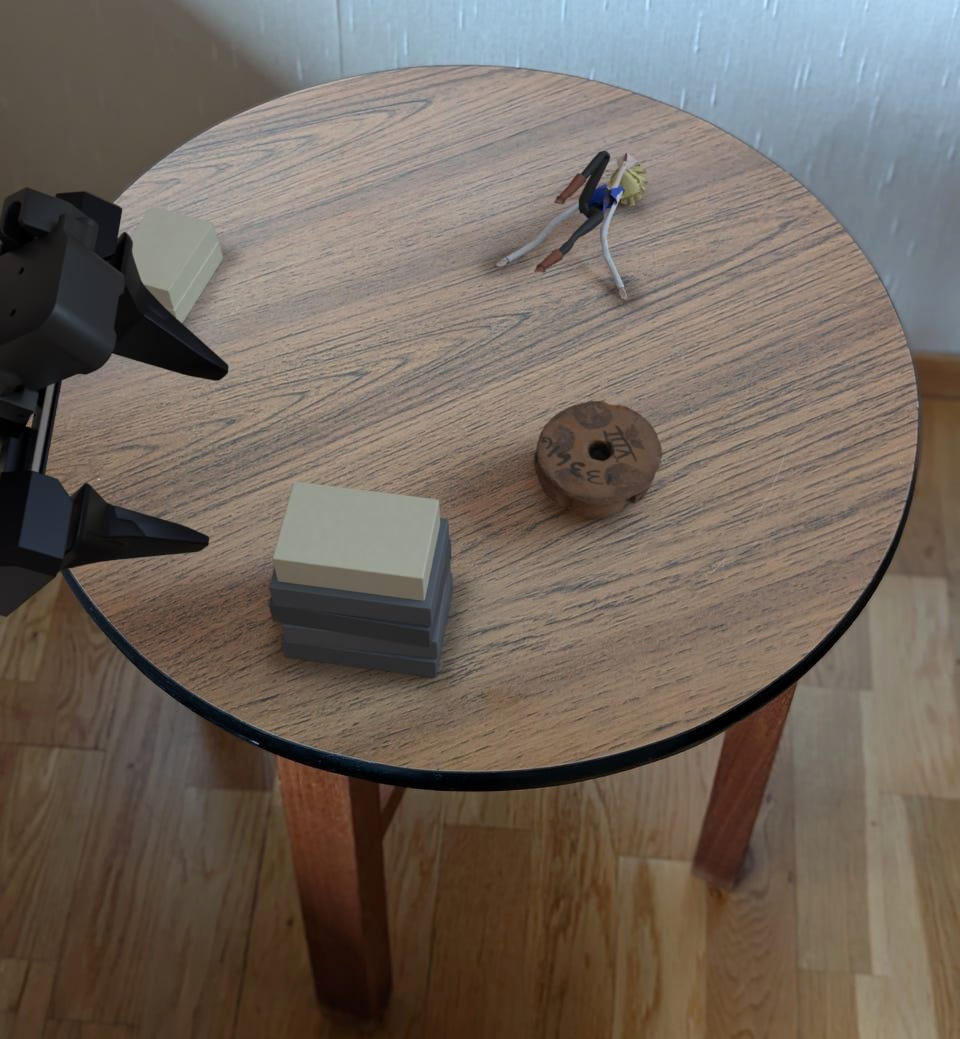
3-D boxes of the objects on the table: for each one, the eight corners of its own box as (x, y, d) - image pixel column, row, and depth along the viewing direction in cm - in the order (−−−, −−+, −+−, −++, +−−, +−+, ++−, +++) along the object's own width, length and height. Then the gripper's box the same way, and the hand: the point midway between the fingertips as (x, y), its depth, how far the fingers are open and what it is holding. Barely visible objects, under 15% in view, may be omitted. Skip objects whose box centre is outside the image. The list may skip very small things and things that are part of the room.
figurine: (669, 269, 104) (542, 386, 90) (587, 194, 104) (448, 300, 91) (746, 176, 96) (619, 289, 83) (657, 96, 97) (517, 195, 83)
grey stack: (280, 659, 78) (261, 590, 71) (304, 567, 81) (288, 493, 75) (437, 681, 77) (433, 613, 70) (455, 587, 80) (453, 514, 74)
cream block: (277, 582, 71) (271, 558, 69) (298, 505, 74) (293, 480, 72) (424, 601, 71) (423, 578, 69) (440, 523, 73) (439, 499, 71)
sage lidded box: (179, 328, 92) (169, 292, 89) (114, 310, 93) (102, 273, 90) (223, 258, 95) (215, 221, 92) (160, 241, 96) (150, 204, 93)
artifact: (613, 427, 87) (620, 378, 83) (676, 512, 83) (687, 466, 79) (510, 473, 85) (512, 425, 81) (570, 562, 81) (575, 517, 77)
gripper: (-117, 453, 44) (292, 581, 52) (-15, 42, 52) (321, 210, 61) (-209, 566, 51) (161, 662, 60) (-107, 192, 60) (204, 323, 69)
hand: (215, 456), depth 62 cm, fingers open, 9 cm apart
